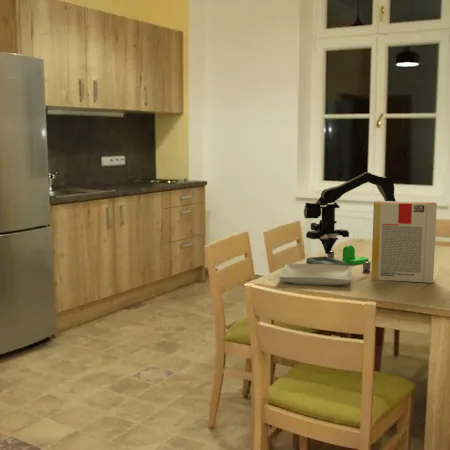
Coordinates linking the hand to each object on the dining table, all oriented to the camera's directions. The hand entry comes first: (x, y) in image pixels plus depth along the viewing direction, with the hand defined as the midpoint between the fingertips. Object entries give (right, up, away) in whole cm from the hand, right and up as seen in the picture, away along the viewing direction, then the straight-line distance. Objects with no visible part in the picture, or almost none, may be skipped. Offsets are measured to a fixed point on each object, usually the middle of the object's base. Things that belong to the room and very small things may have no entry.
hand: (327, 253), depth 266 cm
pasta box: (+24, -9, -28) cm, 38 cm away
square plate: (-9, -9, -28) cm, 30 cm away
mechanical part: (+14, -5, +5) cm, 16 cm away
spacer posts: (+15, -5, +1) cm, 15 cm away
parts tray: (0, -5, 0) cm, 5 cm away
